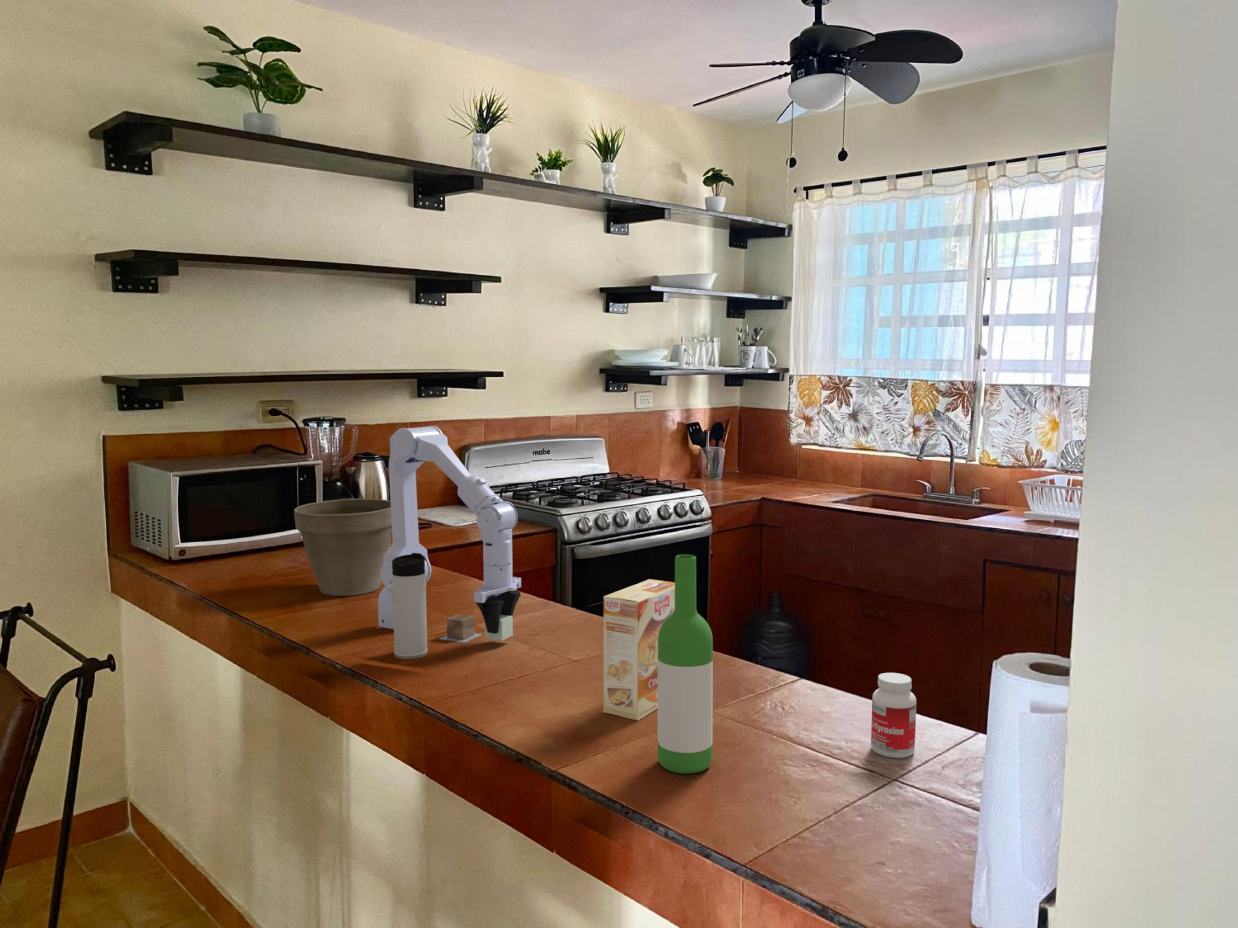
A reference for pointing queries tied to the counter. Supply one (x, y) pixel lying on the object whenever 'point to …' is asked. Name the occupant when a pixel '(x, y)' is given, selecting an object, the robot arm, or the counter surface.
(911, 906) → the counter surface
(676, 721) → the wine bottle
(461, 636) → the walnut block
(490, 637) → the green block
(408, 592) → the travel mug
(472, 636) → the white square board
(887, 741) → the pill bottle
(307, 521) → the plant pot
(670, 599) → the coffeecake box
